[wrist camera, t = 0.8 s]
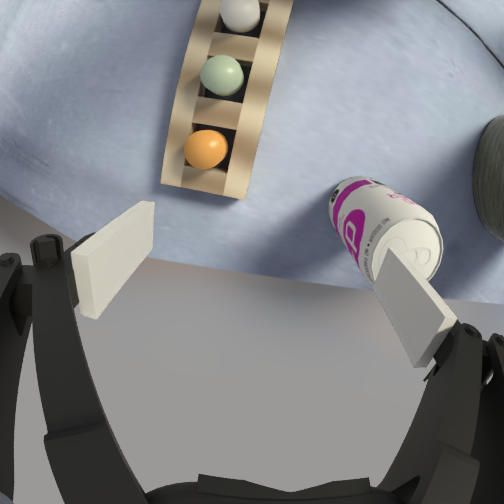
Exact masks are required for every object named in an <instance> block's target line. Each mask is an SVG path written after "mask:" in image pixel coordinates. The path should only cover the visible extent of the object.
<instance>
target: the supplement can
mask: <svg viewBox="0 0 504 504" xmlns="http://www.w3.org/2000/svg"><path fill="white" fill-rule="evenodd" d="M329 217H330V220H331V223H332V225H333V227H334V228H335V230H336V231H337V233H338V234H339V236H340V238H341V239H342V241H343V242H344V244H345V246H346V247H347V249H348V251H349V252H350V254H351V256H352V257H353V259H354V261H355V262H356V264H357V266H358V267H359V269H360V271H361V272H362V274H363V275H364V277H365V278H366V279H367V281H368V282H369V283H370V285H372V286H373V285H374V282H375V280H376V278H377V275H378V273H379V270H380V268H381V265H382V263H383V260H384V257H385V255H386V252H387V249H388V247H390V248H394V249H399V250H400V251H401V252H402V253H403V254H404V256H405V257H406V258H407V259H408V260H409V261H410V262H411V263H412V264H413V265H414V267H415V268H416V269H417V270H418V271H419V272H420V273H421V275H422V276H423V277H424V278H425V279H426V280H427V281H429V280H430V279H431V278H432V277H433V276H434V274H435V273H436V271H437V269H438V267H439V265H440V263H441V259H442V254H443V241H442V236H441V234H440V232H439V227H438V225H437V223H436V221H435V219H434V217H433V216H432V215H431V214H430V213H429V212H427V211H426V210H425V209H424V208H423V207H421V206H419V205H418V204H416V203H415V202H413V201H411V200H410V199H408V198H406V197H405V196H403V195H401V194H399V193H398V192H396V191H394V190H392V189H391V188H389V187H387V186H385V185H384V184H382V183H380V182H378V181H376V180H374V179H373V178H369V177H365V176H356V177H350V178H348V179H347V180H345V181H343V182H341V183H340V184H339V185H338V186H337V188H336V189H335V190H334V191H333V193H332V196H331V198H330V201H329Z"/></svg>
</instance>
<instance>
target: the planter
mask: <svg viewBox="0 0 504 504" xmlns="http://www.w3.org/2000/svg"><path fill="white" fill-rule="evenodd" d="M473 191H474V199H475V204H476V209H477V212H478V215H479V217H480V219H481V221H482V223H483V225H484V226H485V228H486V229H487V230H488V231H489V232H490V233H491V234H492V235H494V236H495V237H497V238H498V239H499V240H501V241H502V242H503V243H504V115H501V116H498V117H497V118H495V119H494V120H492V121H491V122H490V123H489V125H488V126H487V127H486V129H485V130H484V132H483V134H482V136H481V139H480V141H479V144H478V147H477V151H476V156H475V161H474V170H473Z"/></svg>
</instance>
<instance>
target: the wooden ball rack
mask: <svg viewBox="0 0 504 504" xmlns="http://www.w3.org/2000/svg"><path fill="white" fill-rule="evenodd" d="M221 1H222V0H202V1H201V4H200V7H199V10H198V13H197V16H196V19H195V23H194V26H193V29H192V32H191V36H190V39H189V43H188V46H187V50H186V54H185V58H184V61H183V65H182V69H181V73H180V77H179V82H178V86H177V90H176V95H175V100H174V104H173V109H172V114H171V119H170V125H169V130H168V136H167V142H166V148H165V154H164V160H163V167H162V174H161V182H160V183H161V184H167V185H172V186H178V187H183V188H188V189H193V190H198V191H203V192H208V193H213V194H218V195H223V196H228V197H232V198H237V199H242V200H245V198H246V194H247V190H248V186H249V181H250V177H251V172H252V168H253V164H254V159H255V155H256V151H257V146H258V142H259V138H260V134H261V129H262V125H263V121H264V117H265V112H266V108H267V104H268V100H269V96H270V92H271V88H272V84H273V80H274V76H275V72H276V68H277V64H278V60H279V56H280V52H281V48H282V44H283V40H284V36H285V32H286V28H287V24H288V21H289V17H290V13H291V9H292V6H293V2H294V0H258V2H259V7H260V12H266V16H265V19H264V23H263V26H262V30H261V34H260V37H259V38H254V37H248V36H241V35H234V34H226V33H220V31H221V28H222V25H223V19H222V17H221V14H220V12H219V5H220V3H221ZM218 55H226V56H230V57H232V58H234V59H235V60H236V61H237V62H238V63H239V65H243V66H249V67H252V68H251V72H250V76H249V80H248V84H247V88H246V92H245V96H244V101H243V104H242V103H237V102H231V101H225V100H219V99H212V98H205V97H204V93H205V89H206V87H205V86H204V85H203V83H202V81H201V78H200V71H201V68H202V66H203V65H204V63H205V62H206V61H207V60H209V59H210V58H212V57H214V56H218ZM198 123H200V124H206V125H212V126H218V127H224V128H229V129H234V130H237V131H236V136H235V140H234V145H233V149H232V154H231V159H230V163H229V168H228V169H223V168H218V167H213V168H210V169H206V170H202V169H197V168H195V167H193V166H192V165H190V164H189V162H188V161H187V160H186V157H185V154H184V146H185V143H186V141H187V139H188V138H189V137H190V136H191V135H192V134H193V133H195V132H196V131H197V126H198Z"/></svg>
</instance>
